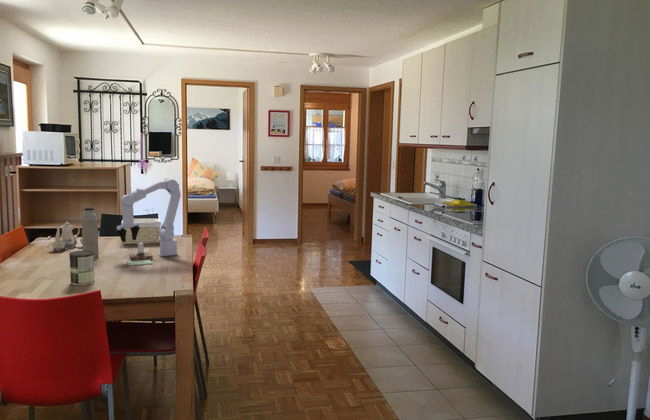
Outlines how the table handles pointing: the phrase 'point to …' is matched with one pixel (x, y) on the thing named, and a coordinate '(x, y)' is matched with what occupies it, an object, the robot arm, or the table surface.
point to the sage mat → (139, 262)
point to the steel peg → (140, 249)
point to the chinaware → (65, 238)
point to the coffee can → (82, 267)
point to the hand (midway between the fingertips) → (128, 240)
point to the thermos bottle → (90, 232)
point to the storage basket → (144, 232)
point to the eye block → (140, 256)
